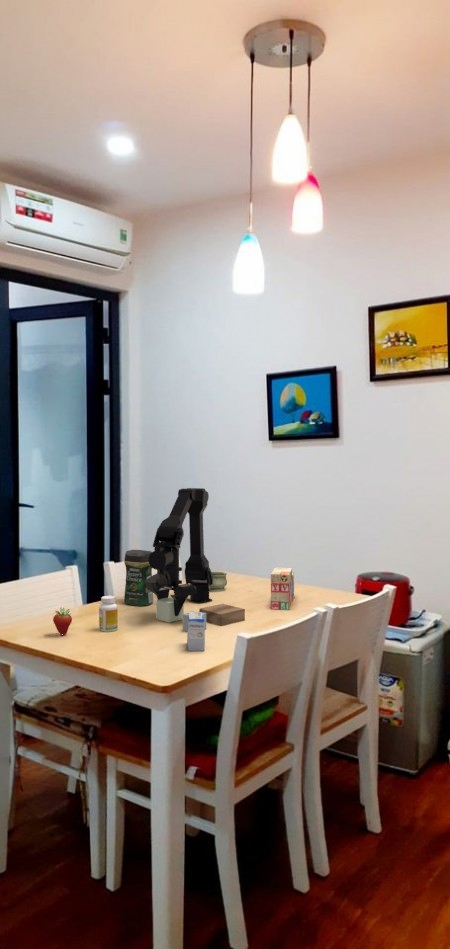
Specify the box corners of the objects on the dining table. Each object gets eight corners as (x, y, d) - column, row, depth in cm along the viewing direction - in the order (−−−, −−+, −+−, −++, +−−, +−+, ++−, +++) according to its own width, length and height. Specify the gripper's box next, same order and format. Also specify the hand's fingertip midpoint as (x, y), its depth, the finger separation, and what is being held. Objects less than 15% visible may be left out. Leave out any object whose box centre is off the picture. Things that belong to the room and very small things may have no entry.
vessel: (218, 594, 259) (218, 577, 258) (197, 591, 263) (197, 575, 262) (233, 588, 269) (233, 571, 269) (212, 586, 273) (212, 570, 273)
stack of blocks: (276, 596, 255) (277, 562, 255) (294, 597, 254) (294, 563, 254) (270, 610, 234) (270, 573, 234) (289, 610, 233) (289, 573, 233)
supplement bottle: (120, 628, 210) (120, 595, 210) (112, 632, 205) (112, 599, 205) (104, 626, 212) (104, 594, 212) (95, 631, 207) (95, 598, 206)
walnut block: (199, 621, 220) (199, 608, 220) (222, 616, 227) (222, 603, 227) (221, 627, 213) (221, 614, 213) (244, 621, 220) (244, 609, 220)
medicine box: (187, 643, 195) (187, 611, 194) (203, 642, 195) (203, 611, 195) (188, 651, 187) (188, 619, 187) (205, 651, 187) (205, 618, 187)
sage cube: (156, 618, 221) (156, 599, 221) (171, 615, 225) (171, 596, 225) (168, 622, 217) (168, 602, 216) (183, 619, 221) (183, 599, 221)
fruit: (62, 638, 199) (62, 610, 198) (49, 635, 202) (48, 608, 201) (75, 634, 203) (75, 606, 203) (62, 631, 206) (61, 604, 206)
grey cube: (182, 631, 207) (182, 614, 207) (192, 627, 211) (192, 611, 211) (197, 633, 205) (197, 616, 204) (206, 629, 209) (206, 613, 209)
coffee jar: (120, 604, 241) (120, 550, 240) (133, 600, 248) (133, 547, 247) (144, 607, 237) (144, 552, 236) (157, 602, 244) (156, 549, 243)
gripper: (131, 563, 221) (131, 613, 222) (169, 571, 208) (169, 624, 209) (158, 559, 229) (159, 607, 230) (197, 567, 216) (197, 617, 216)
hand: (170, 614), depth 221 cm, fingers closed on sage cube, 6 cm apart
